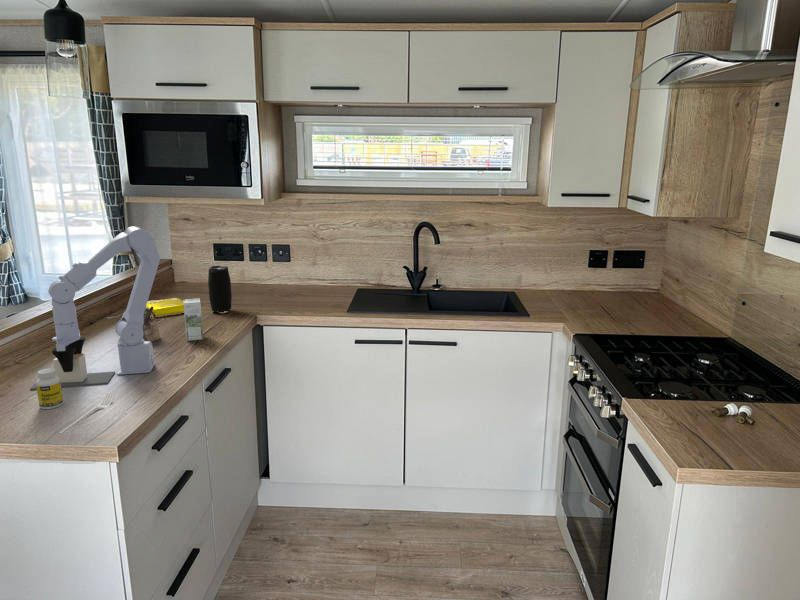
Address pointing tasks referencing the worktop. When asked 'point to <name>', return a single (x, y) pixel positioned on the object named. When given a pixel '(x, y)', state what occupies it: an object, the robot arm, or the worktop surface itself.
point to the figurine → (150, 326)
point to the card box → (78, 370)
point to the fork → (93, 410)
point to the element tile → (166, 306)
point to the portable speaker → (219, 288)
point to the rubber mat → (88, 380)
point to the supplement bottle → (49, 389)
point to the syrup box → (193, 319)
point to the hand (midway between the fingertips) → (72, 367)
